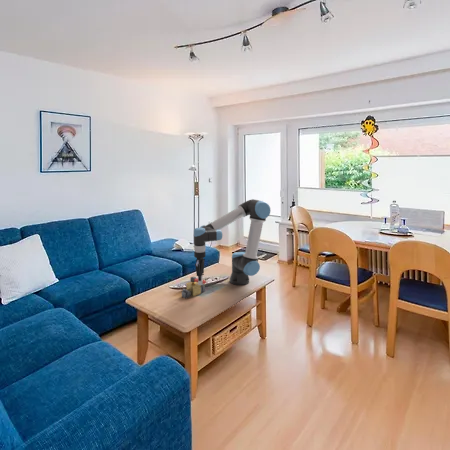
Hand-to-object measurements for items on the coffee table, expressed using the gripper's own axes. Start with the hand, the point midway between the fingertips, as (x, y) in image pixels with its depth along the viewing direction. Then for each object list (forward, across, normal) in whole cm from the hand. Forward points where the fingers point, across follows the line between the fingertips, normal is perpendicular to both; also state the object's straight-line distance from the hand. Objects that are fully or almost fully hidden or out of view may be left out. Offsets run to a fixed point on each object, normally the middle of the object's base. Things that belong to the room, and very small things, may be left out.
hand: (200, 284), depth 215 cm
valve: (+9, -4, -7) cm, 12 cm away
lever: (0, -3, -3) cm, 4 cm away
